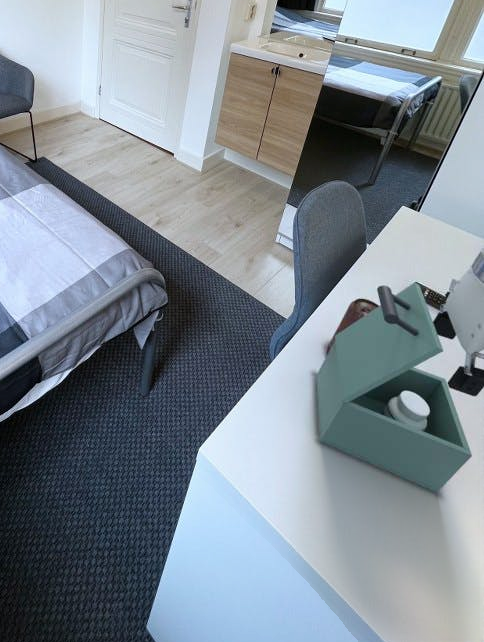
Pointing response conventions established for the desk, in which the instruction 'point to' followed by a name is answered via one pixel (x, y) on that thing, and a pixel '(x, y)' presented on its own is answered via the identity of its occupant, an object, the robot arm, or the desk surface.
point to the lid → (385, 342)
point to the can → (353, 315)
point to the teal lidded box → (394, 426)
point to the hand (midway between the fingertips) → (449, 360)
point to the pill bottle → (408, 410)
